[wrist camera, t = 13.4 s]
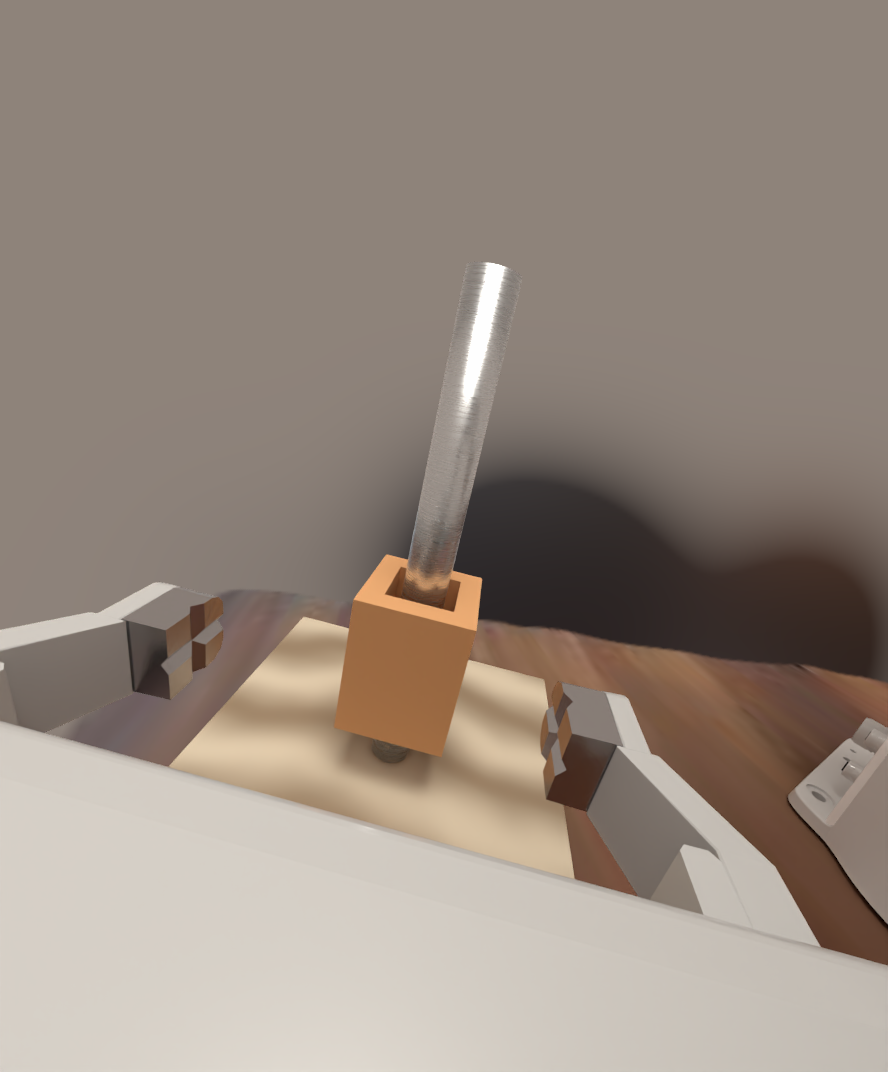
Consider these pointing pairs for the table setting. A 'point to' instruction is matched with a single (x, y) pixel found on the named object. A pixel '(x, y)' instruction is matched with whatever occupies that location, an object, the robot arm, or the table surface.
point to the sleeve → (406, 660)
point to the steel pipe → (458, 438)
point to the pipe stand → (391, 788)
